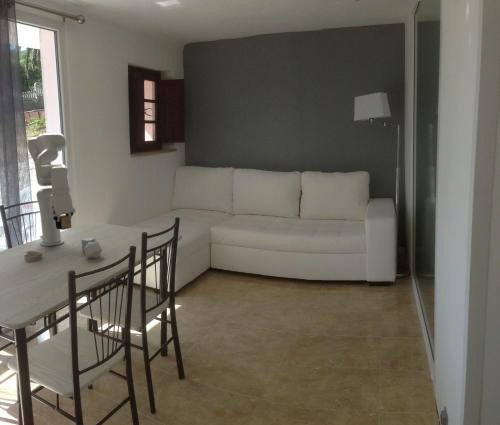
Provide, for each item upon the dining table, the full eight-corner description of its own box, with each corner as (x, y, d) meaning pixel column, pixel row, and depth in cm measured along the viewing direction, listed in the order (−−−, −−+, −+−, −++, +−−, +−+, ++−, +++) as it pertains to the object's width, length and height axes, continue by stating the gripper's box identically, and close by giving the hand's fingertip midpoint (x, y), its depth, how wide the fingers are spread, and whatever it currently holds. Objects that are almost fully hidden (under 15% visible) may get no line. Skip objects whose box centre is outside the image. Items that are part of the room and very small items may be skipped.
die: (92, 262, 241) (102, 245, 242) (77, 253, 241) (88, 236, 243) (97, 262, 249) (107, 246, 250) (83, 254, 249) (93, 238, 251)
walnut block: (56, 228, 239) (55, 216, 237) (65, 226, 243) (64, 214, 241) (62, 229, 236) (61, 218, 235) (71, 227, 240) (70, 216, 239)
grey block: (82, 250, 258) (81, 240, 257) (88, 248, 263) (87, 237, 262) (90, 251, 257) (89, 240, 256) (96, 248, 262) (95, 238, 260)
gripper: (70, 188, 244) (73, 223, 248) (40, 193, 230) (44, 230, 234) (80, 189, 240) (82, 224, 244) (50, 194, 226) (53, 232, 230)
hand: (63, 227), depth 239 cm, fingers closed on walnut block, 5 cm apart
